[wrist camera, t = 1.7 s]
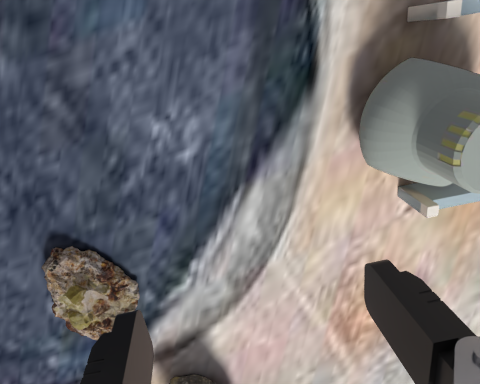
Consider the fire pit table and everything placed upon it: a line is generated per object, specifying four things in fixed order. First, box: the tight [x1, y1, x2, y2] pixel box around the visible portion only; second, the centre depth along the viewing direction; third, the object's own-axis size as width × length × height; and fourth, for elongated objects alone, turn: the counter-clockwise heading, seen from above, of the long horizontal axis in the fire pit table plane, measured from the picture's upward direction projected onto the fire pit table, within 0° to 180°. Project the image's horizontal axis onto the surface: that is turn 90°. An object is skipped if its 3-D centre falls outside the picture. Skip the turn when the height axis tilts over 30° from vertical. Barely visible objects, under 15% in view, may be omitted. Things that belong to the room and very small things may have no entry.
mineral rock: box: [42, 246, 139, 340], centre depth 31 cm, size 11×4×8 cm
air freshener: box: [359, 58, 480, 194], centre depth 25 cm, size 11×8×10 cm
